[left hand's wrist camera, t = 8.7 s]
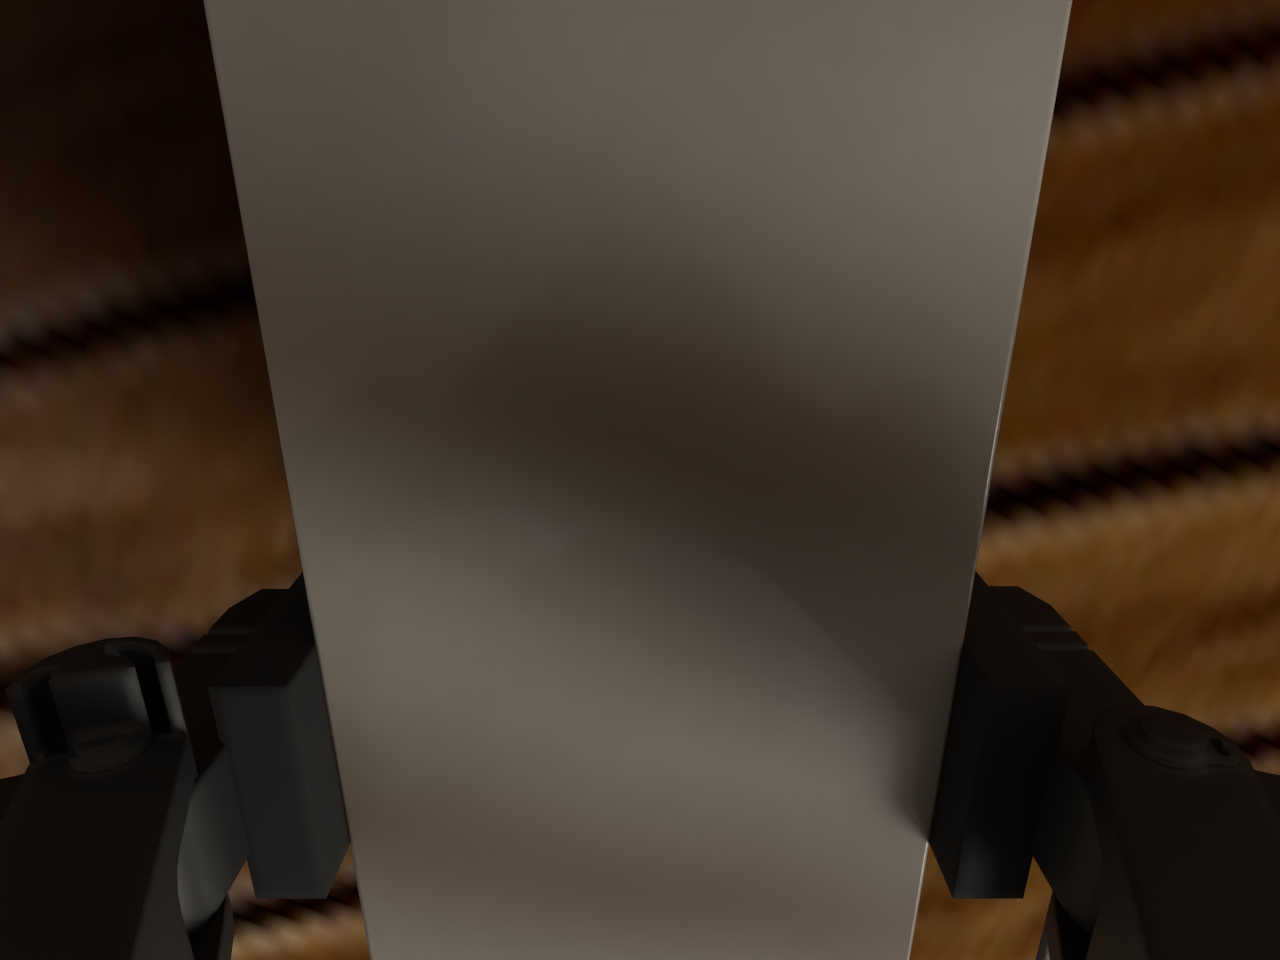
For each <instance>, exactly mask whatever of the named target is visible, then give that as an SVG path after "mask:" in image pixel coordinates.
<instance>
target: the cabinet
mask: <svg viewBox="0 0 1280 960" xmlns="http://www.w3.org/2000/svg"><path fill="white" fill-rule="evenodd" d="M203 1H204V7H205V12H206V18H207V24H208V30H209V35H210V41H211V47H212V53H213V58H214V64H215V70H216V76H217V81H218V87H219V93H220V99H221V104H222V110H223V116H224V122H225V127H226V133H227V139H228V145H229V150H230V156H231V162H232V167H233V173H234V179H235V185H236V190H237V196H238V202H239V208H240V213H241V219H242V225H243V231H244V236H245V242H246V248H247V254H248V259H249V265H250V271H251V277H252V282H253V288H254V294H255V300H256V305H257V311H258V317H259V322H260V328H261V334H262V340H263V345H264V351H265V357H266V363H267V368H268V374H269V380H270V386H271V391H272V397H273V403H274V409H275V414H276V420H277V426H278V432H279V437H280V443H281V449H282V455H283V460H284V466H285V472H286V478H287V483H288V489H289V495H290V500H291V506H292V512H293V518H294V523H295V529H296V535H297V541H298V546H299V552H300V558H301V564H302V569H303V575H304V581H305V587H306V592H307V598H308V604H309V610H310V615H311V621H312V627H313V633H314V638H315V644H316V650H317V655H318V661H319V667H320V673H321V678H322V684H323V690H324V696H325V701H326V707H327V713H328V719H329V724H330V730H331V736H332V742H333V747H334V753H335V759H336V765H337V770H338V776H339V782H340V788H341V793H342V799H343V805H344V811H345V816H346V822H347V828H348V833H349V839H350V845H351V851H352V856H353V862H354V868H355V874H356V879H357V885H358V891H359V897H360V902H361V908H362V914H363V920H364V925H365V931H366V937H367V943H368V948H369V954H370V960H909V959H910V953H911V947H912V941H913V936H914V930H915V924H916V918H917V912H918V906H919V900H920V894H921V888H922V883H923V877H924V871H925V865H926V859H927V853H928V847H929V841H930V835H931V829H932V824H933V818H934V812H935V806H936V800H937V794H938V788H939V782H940V776H941V771H942V765H943V759H944V753H945V747H946V741H947V735H948V729H949V723H950V717H951V712H952V706H953V700H954V694H955V688H956V682H957V676H958V670H959V664H960V659H961V653H962V647H963V641H964V635H965V629H966V623H967V617H968V611H969V605H970V600H971V594H972V588H973V582H974V576H975V570H976V564H977V558H978V552H979V547H980V541H981V535H982V529H983V523H984V517H985V511H986V505H987V499H988V493H989V488H990V482H991V476H992V470H993V464H994V458H995V452H996V446H997V440H998V435H999V429H1000V423H1001V417H1002V411H1003V405H1004V399H1005V393H1006V387H1007V381H1008V376H1009V370H1010V364H1011V358H1012V352H1013V346H1014V340H1015V334H1016V328H1017V323H1018V317H1019V311H1020V305H1021V299H1022V293H1023V287H1024V281H1025V275H1026V269H1027V264H1028V258H1029V252H1030V246H1031V240H1032V234H1033V228H1034V222H1035V216H1036V211H1037V205H1038V199H1039V193H1040V187H1041V181H1042V175H1043V169H1044V163H1045V157H1046V152H1047V146H1048V140H1049V134H1050V128H1051V122H1052V116H1053V110H1054V104H1055V99H1056V93H1057V87H1058V81H1059V75H1060V69H1061V63H1062V57H1063V51H1064V45H1065V40H1066V34H1067V28H1068V22H1069V16H1070V10H1071V4H1072V0H203Z"/></svg>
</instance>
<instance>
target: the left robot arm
mask: <svg viewBox="0 0 1280 960" xmlns="http://www.w3.org/2000/svg"><path fill="white" fill-rule="evenodd" d="M191 650H192V651H191V653H187V654H186V655H185V656H184V657H183V658H182V659H181V660H180V661H179V662H178V664H177V665H176V666H175V667H174V668H173V667H172V663H171V659H170V655H169V651H168V648H166V647H165V646H164V645H162V644H161V643H159V642H158V641H156V640H152V639H146V638H139V637H124V638H110V639H104V640H99V641H95V642H91V643H87V644H83V645H78V646H75V647H72V648H70V649H67V650H65V651H62V652H60V653H57V654H55V655H52V656H50V657H47V658H45V659H44V660H42V661H40V662H39V663H37V664H35V665H34V666H32V667H30V668H29V669H27V670H25V671H24V672H22V673H21V674H20V675H19V676H18V677H17V678H16V679H15V680H14V681H13V682H12V683H11V684H10V685H9V686H8V687H7V688H6V689H5V690H6V693H7V696H8V699H9V702H10V705H11V708H12V711H13V714H14V717H15V720H16V723H17V726H18V729H19V732H20V735H21V738H22V741H23V744H24V747H25V750H26V753H27V756H28V758H29V761H30V764H29V766H28V768H27V770H26V772H25V774H22V775H18V776H14V777H9V778H4V779H0V960H231V953H232V945H233V937H234V928H235V926H234V919H233V913H232V908H231V904H230V900H229V896H228V891H229V889H230V888H231V886H232V884H233V882H234V880H235V879H236V877H237V875H238V873H239V872H240V870H241V868H242V866H243V865H244V863H245V861H246V859H247V861H248V865H249V870H250V874H251V879H252V883H253V887H254V892H255V896H256V898H327V895H328V893H329V891H330V888H331V886H332V884H333V881H334V879H335V877H336V874H337V872H338V870H339V867H340V865H341V863H342V860H343V858H344V856H345V853H346V851H347V848H348V846H349V844H350V839H349V833H348V828H347V822H346V816H345V811H344V805H343V799H342V793H341V788H340V782H339V776H338V770H337V765H336V759H335V753H334V747H333V742H332V736H331V730H330V724H329V719H328V713H327V707H326V701H325V696H324V690H323V684H322V678H321V673H320V667H319V661H318V655H317V650H316V644H315V638H314V633H313V627H312V621H311V615H310V610H309V604H308V598H307V592H306V587H305V581H304V575H303V572H302V573H301V575H300V576H299V577H298V578H297V579H296V581H295V582H294V583H293V584H292V585H291V587H290V588H289V589H261V590H259V591H258V592H256V593H254V594H252V595H251V596H249V597H247V598H246V599H244V600H242V601H240V602H239V603H237V604H235V605H233V606H232V607H230V608H229V609H228V610H227V611H226V612H225V613H224V614H223V615H222V616H221V617H220V618H219V619H218V621H217V622H216V623H215V624H214V625H213V626H212V627H211V628H210V629H209V633H208V635H204V636H203V637H202V638H201V639H200V640H199V641H198V642H197V643H196V644H195V645H194V646H193V647H192V648H191ZM929 843H930V846H931V848H932V850H933V853H934V855H935V857H936V860H937V862H938V864H939V867H940V869H941V871H942V874H943V876H944V878H945V881H946V883H947V886H948V888H949V890H950V893H951V895H952V897H953V898H1023V896H1024V892H1025V888H1026V883H1027V879H1028V875H1029V870H1030V866H1031V861H1032V857H1034V858H1035V860H1036V862H1037V864H1038V865H1039V867H1040V869H1041V871H1042V872H1043V874H1044V876H1045V878H1046V879H1047V881H1048V883H1049V885H1050V886H1051V888H1052V890H1053V891H1052V896H1051V900H1050V904H1049V908H1048V912H1047V916H1046V920H1045V924H1044V928H1043V932H1042V936H1041V940H1040V944H1039V949H1038V953H1037V957H1036V960H1280V775H1275V774H1270V773H1265V772H1261V771H1257V770H1254V768H1253V766H1252V764H1251V762H1250V761H1249V760H1248V759H1247V757H1246V756H1245V755H1244V754H1243V752H1242V751H1241V750H1240V749H1239V747H1238V746H1237V745H1236V744H1235V743H1234V742H1232V741H1231V740H1229V739H1228V738H1227V737H1225V736H1224V735H1222V734H1221V733H1219V732H1218V731H1217V730H1215V729H1214V728H1212V727H1210V726H1208V725H1206V724H1204V723H1202V722H1199V721H1197V720H1195V719H1193V718H1191V717H1189V716H1186V715H1184V714H1181V713H1177V712H1174V711H1170V710H1166V709H1163V708H1159V707H1155V706H1145V705H1144V704H1143V703H1142V702H1141V701H1140V700H1139V699H1138V698H1137V697H1136V696H1135V695H1134V694H1133V693H1132V692H1131V691H1130V690H1129V688H1128V687H1127V686H1126V685H1125V684H1124V683H1123V682H1122V681H1121V680H1120V679H1119V678H1118V677H1117V676H1116V675H1115V674H1114V672H1113V671H1112V670H1111V669H1110V668H1109V667H1108V666H1107V665H1106V664H1105V663H1104V662H1103V661H1102V660H1101V659H1100V658H1099V656H1098V655H1097V654H1096V653H1095V652H1094V651H1093V650H1089V649H1088V645H1087V644H1086V643H1085V642H1084V640H1083V639H1082V638H1081V637H1080V636H1079V635H1078V634H1077V633H1076V632H1071V627H1070V626H1069V624H1068V623H1067V622H1066V621H1065V620H1064V619H1063V618H1062V617H1061V616H1060V615H1059V614H1058V613H1057V612H1056V611H1055V610H1054V608H1053V607H1052V606H1051V605H1049V604H1048V603H1046V602H1044V601H1042V600H1041V599H1039V598H1037V597H1035V596H1034V595H1032V594H1030V593H1028V592H1027V591H1025V590H1023V589H1022V588H1020V587H1018V586H988V585H987V584H986V583H985V582H984V581H983V579H982V578H981V577H980V576H979V575H978V573H977V572H976V571H975V576H974V582H973V588H972V594H971V600H970V605H969V611H968V617H967V623H966V629H965V635H964V641H963V647H962V653H961V659H960V664H959V670H958V676H957V682H956V688H955V694H954V700H953V706H952V712H951V717H950V723H949V729H948V735H947V741H946V747H945V753H944V759H943V765H942V771H941V776H940V782H939V788H938V794H937V800H936V806H935V812H934V818H933V824H932V829H931V835H930V841H929Z"/></svg>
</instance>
